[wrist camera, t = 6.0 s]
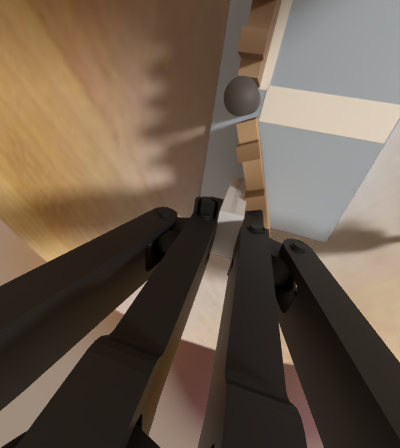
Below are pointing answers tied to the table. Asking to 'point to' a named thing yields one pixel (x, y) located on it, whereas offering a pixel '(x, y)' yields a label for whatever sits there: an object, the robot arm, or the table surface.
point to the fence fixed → (252, 58)
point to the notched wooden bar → (253, 167)
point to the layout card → (312, 108)
